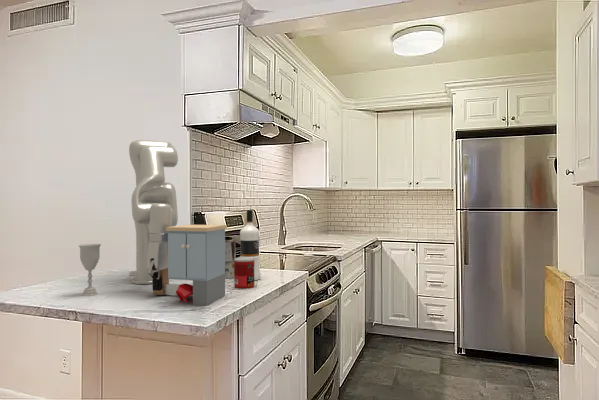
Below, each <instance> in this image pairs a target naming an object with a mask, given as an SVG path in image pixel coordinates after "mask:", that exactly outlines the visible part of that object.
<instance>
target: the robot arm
mask: <svg viewBox="0 0 599 400" xmlns="http://www.w3.org/2000/svg"><path fill="white" fill-rule="evenodd" d="M128 152H129V153H128V154H129V159H130V162H131V165H132V167H133V170H134V173H135V186H136V187H135V188H134V190H133V192H132V194H131V203H130V204H131V216H132V220H133V221H134V227H135V242H136V243H135V244H136V245H135V247H136V248H135V250H136V252H135V256H136V257H135V261H136V262H135V265H136V266H135V270H131V271H130V272H129V273H128V276H129V277H133V279H132V284H135V285H151V284H152V291H153V290H157V291H160V290H161V279H160V275H161V270H162V269H166V268H168V231H166V227H172V226H178V220H179V215H178V203H177V201H178V200H177V194H176V187H175V185H174V184H173V183H171V182H166V177H165V168H175V167H176V166H177V165H178V161H179V156H178V155H179V154H178V152H177V150H176V148H175V146H174V145H173V144H172V143H171V142H169V141H159V140H149V139H148V140H147V139H139V140H134V141H132V142H130V144H129V146H128ZM155 268H156V270H155ZM155 272H158V273H157V274H156V273H155Z"/></svg>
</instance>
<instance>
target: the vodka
mask: <svg viewBox="0 0 599 400" xmlns="http://www.w3.org/2000/svg"><path fill="white" fill-rule="evenodd" d="M253 212H254V211H253V210H252V209H247V210H246V225H245V226H244V227H242V228H241V229H240V231H239V236H240V238H239V239H240V256H239V258H254V282H256V281H259V280H260V279H261V278H262V276H261V275H262V274H261V270H260V230H259V228H257V227H256V226H255V225H254V223H253V215H254V214H253Z"/></svg>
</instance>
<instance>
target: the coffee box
mask: <svg viewBox="0 0 599 400" xmlns="http://www.w3.org/2000/svg"><path fill="white" fill-rule="evenodd" d="M236 249H237V248H236V239H225V279H234V259H236V258H237V257H236V252H237V251H236Z"/></svg>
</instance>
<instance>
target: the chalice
mask: <svg viewBox="0 0 599 400" xmlns="http://www.w3.org/2000/svg"><path fill="white" fill-rule="evenodd" d="M101 246H102V244H101V243H87V244H86V243H85V244H79V245H78V247H79V258H80V259H79V260H80V262H81V265H82V266H83V268H84V270H85V271H87V272H88V274H87V284H88V285H87V287H86V288H84V291H83V293H82V294H81V296H83V297H90V296H91V297H92V296H95V295H98V294H99V293H98V291H97V289H96V288H95V287H94V286H93V285H92V284H93V283H92V282H93V279H92V277H93V274H92V271H93V270H95V268H96V267H97V264H98V263H99V260H100V252H101V251H100V247H101Z"/></svg>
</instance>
